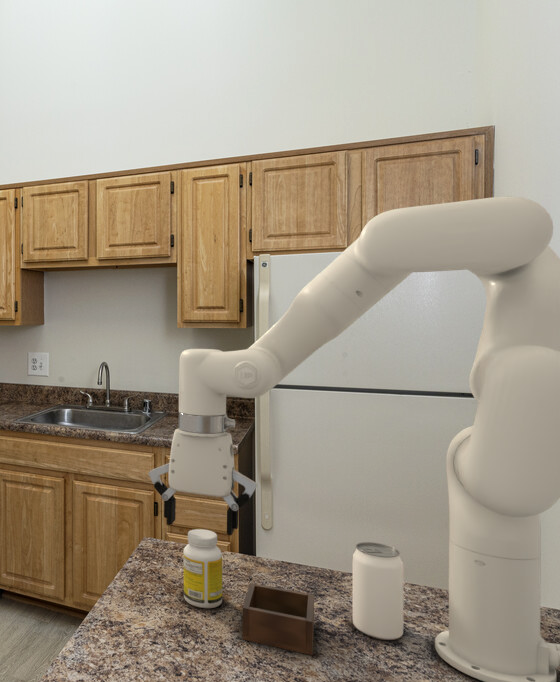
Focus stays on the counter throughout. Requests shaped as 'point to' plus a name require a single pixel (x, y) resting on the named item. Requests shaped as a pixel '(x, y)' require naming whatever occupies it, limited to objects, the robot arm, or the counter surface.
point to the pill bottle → (202, 569)
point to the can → (378, 591)
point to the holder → (279, 618)
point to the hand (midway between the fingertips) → (200, 527)
